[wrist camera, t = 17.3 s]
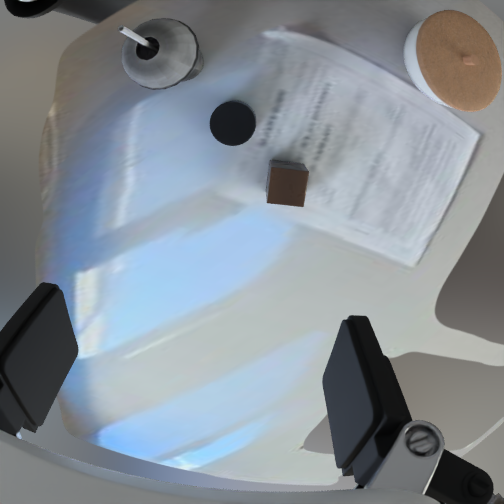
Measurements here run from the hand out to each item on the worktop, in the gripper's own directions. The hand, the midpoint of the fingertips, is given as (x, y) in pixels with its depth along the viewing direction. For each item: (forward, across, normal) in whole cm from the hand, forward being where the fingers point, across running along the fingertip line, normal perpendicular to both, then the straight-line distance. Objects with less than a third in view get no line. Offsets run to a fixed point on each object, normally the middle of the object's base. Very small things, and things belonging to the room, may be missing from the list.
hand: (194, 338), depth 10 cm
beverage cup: (+34, +8, -11) cm, 37 cm away
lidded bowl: (+34, -24, -17) cm, 45 cm away
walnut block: (+34, -6, +3) cm, 35 cm away
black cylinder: (+34, +1, -4) cm, 35 cm away
